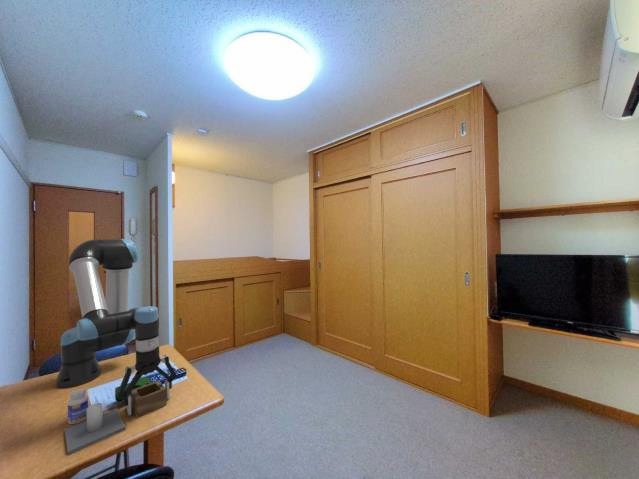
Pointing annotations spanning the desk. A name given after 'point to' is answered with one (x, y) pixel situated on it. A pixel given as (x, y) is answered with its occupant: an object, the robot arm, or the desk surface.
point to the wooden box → (148, 398)
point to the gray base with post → (93, 428)
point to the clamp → (139, 384)
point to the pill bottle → (77, 406)
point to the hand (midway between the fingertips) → (149, 405)
